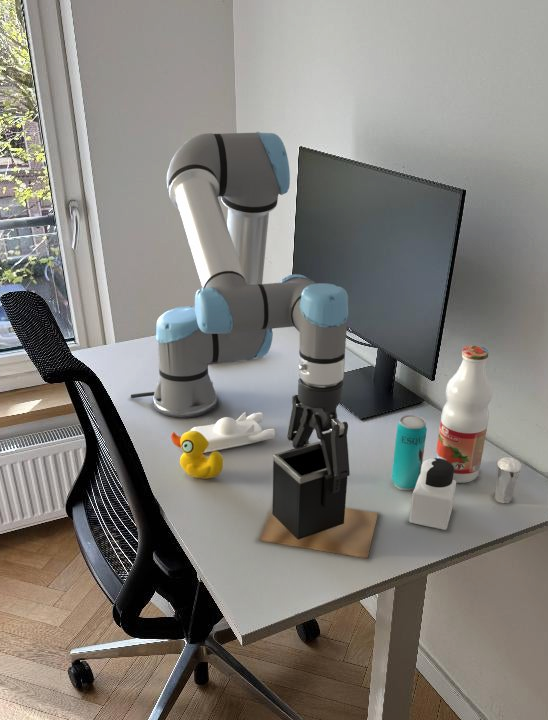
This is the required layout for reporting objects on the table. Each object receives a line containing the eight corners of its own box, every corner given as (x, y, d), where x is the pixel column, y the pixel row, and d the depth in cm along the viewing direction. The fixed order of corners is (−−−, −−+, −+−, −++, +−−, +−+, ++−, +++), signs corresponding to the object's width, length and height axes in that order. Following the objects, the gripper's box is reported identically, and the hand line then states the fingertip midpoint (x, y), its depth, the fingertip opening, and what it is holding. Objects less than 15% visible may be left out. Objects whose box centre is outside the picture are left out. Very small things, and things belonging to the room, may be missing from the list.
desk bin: (300, 478, 127) (348, 463, 132) (273, 454, 134) (320, 440, 138) (297, 540, 134) (344, 523, 138) (272, 514, 140) (317, 499, 145)
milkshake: (514, 509, 149) (523, 466, 144) (487, 500, 151) (495, 458, 146) (521, 498, 152) (530, 456, 147) (495, 490, 155) (503, 448, 150)
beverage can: (418, 494, 153) (426, 429, 145) (389, 490, 154) (397, 425, 146) (419, 479, 158) (428, 415, 150) (392, 475, 158) (399, 412, 151)
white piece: (176, 437, 170) (174, 414, 167) (259, 424, 177) (259, 401, 174) (187, 460, 162) (186, 436, 159) (275, 445, 168) (275, 422, 165)
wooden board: (259, 540, 138) (259, 538, 138) (277, 499, 150) (277, 497, 150) (367, 558, 134) (367, 556, 134) (377, 514, 146) (378, 512, 146)
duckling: (167, 475, 156) (164, 433, 151) (179, 463, 161) (177, 422, 156) (216, 487, 153) (215, 445, 148) (228, 474, 157) (227, 433, 152)
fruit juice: (487, 480, 158) (510, 356, 144) (447, 487, 155) (467, 362, 141) (464, 457, 166) (483, 338, 151) (425, 464, 163) (442, 343, 149)
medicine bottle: (451, 510, 148) (460, 458, 142) (446, 531, 142) (454, 477, 136) (415, 503, 150) (422, 451, 144) (408, 523, 144) (415, 469, 138)
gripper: (268, 360, 132) (267, 469, 143) (339, 410, 116) (332, 528, 127) (304, 351, 135) (300, 459, 147) (378, 399, 120) (367, 515, 131)
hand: (315, 491), depth 137 cm, fingers closed on desk bin, 9 cm apart
